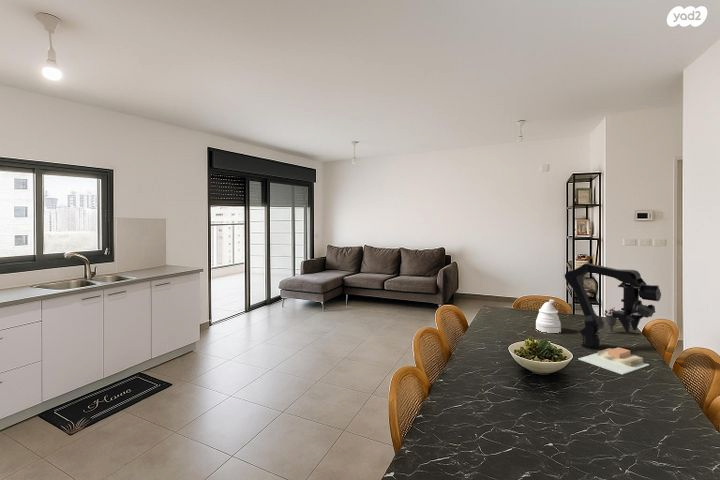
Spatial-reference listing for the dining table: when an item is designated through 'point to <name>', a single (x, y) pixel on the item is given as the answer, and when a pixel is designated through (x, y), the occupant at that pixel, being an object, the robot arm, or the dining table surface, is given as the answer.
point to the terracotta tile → (619, 352)
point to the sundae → (610, 320)
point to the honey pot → (548, 319)
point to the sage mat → (611, 364)
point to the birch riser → (627, 360)
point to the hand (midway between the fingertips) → (631, 331)
